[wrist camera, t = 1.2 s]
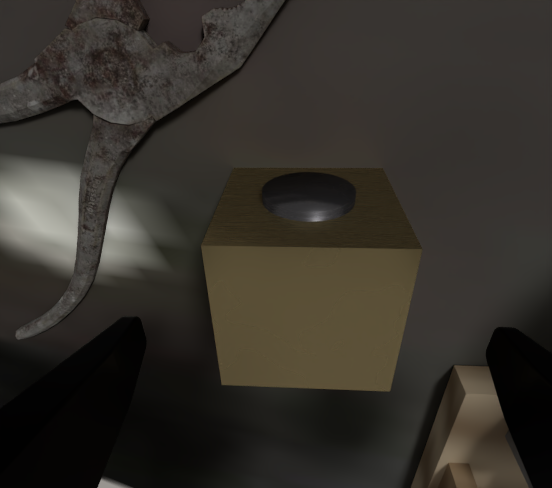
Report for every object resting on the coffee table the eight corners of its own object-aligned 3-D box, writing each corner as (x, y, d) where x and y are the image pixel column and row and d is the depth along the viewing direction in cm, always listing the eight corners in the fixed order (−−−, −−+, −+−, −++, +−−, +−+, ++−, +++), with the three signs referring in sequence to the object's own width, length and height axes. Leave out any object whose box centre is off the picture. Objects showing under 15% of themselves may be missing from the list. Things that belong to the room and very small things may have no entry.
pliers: (-191, 241, 15) (-101, -550, 6) (-168, 230, 16) (-59, -491, 7) (42, 355, 18) (336, -66, 9) (52, 341, 19) (334, -60, 10)
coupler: (383, 158, 12) (424, 237, 8) (365, 290, 15) (388, 397, 11) (233, 158, 13) (199, 234, 8) (244, 287, 16) (222, 391, 11)
